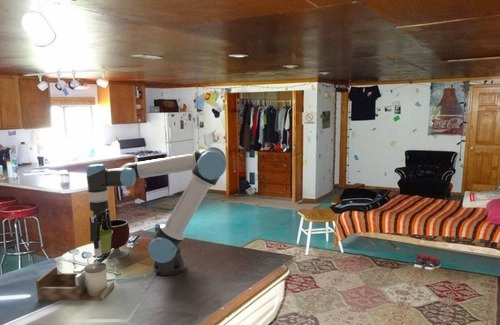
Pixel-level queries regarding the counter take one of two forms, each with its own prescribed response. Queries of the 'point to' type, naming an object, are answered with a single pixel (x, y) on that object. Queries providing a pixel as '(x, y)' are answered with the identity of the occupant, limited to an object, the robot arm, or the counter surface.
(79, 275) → the pusher
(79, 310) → the counter surface
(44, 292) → the wooden organizer tray
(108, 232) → the plant pot
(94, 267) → the cream jar
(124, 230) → the mate gourd
